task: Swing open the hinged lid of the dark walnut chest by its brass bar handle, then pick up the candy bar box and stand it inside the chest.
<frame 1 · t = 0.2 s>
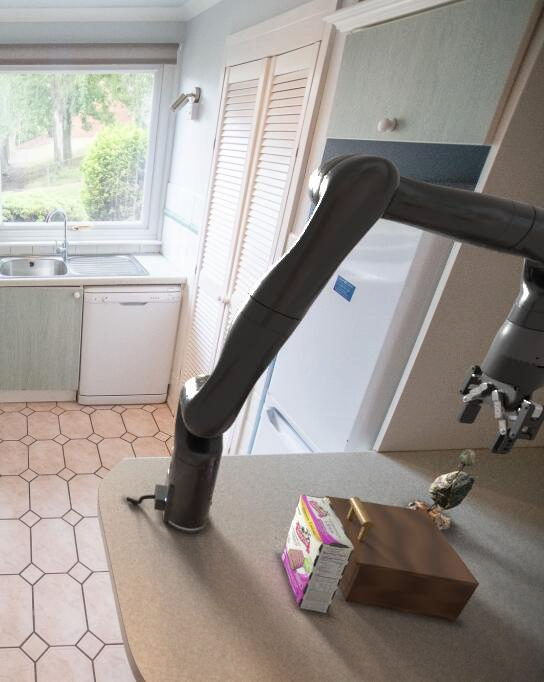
hand: (479, 436, 77), 29 cm above the countertop, tool pointing down, fingers open, 8 cm apart
plant with pod: (429, 517, 98), on the countertop
chest: (378, 572, 86), on the countertop
lid: (397, 526, 81), point 12 cm above the countertop, hinge at 0.0°
candy bar box: (301, 584, 83), on the countertop
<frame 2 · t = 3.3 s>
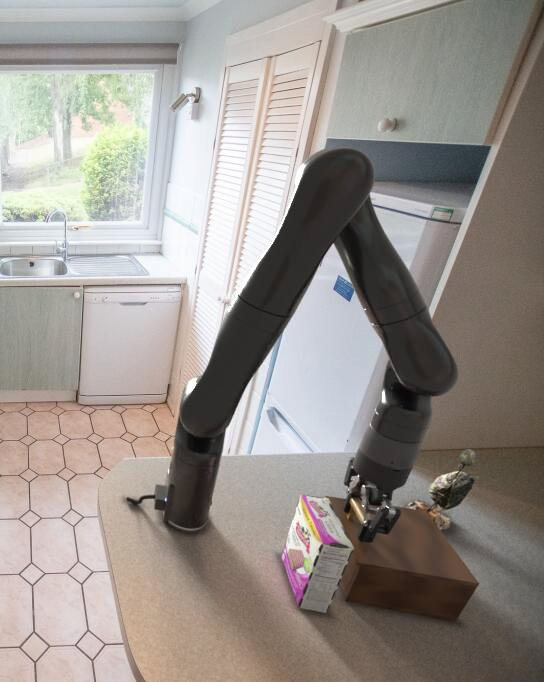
hand: (356, 525, 82), 11 cm above the countertop, tool pointing down, fingers closed on lid, 6 cm apart
lid: (397, 526, 81), point 12 cm above the countertop, hinge at 0.0°, touching gripper
everything else where it was.
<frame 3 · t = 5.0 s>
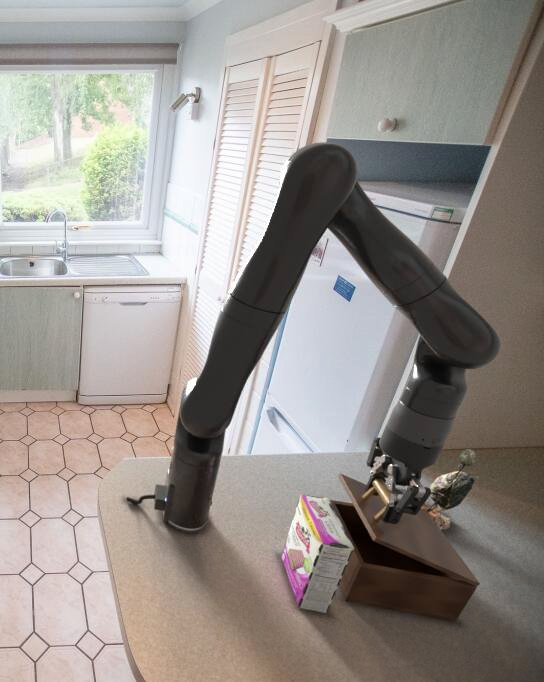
hand: (379, 507, 80), 16 cm above the countertop, tool pointing down, fingers closed on lid, 6 cm apart
lid: (412, 516, 79), point 15 cm above the countertop, hinge at 19.9°, touching gripper
everything else where it was.
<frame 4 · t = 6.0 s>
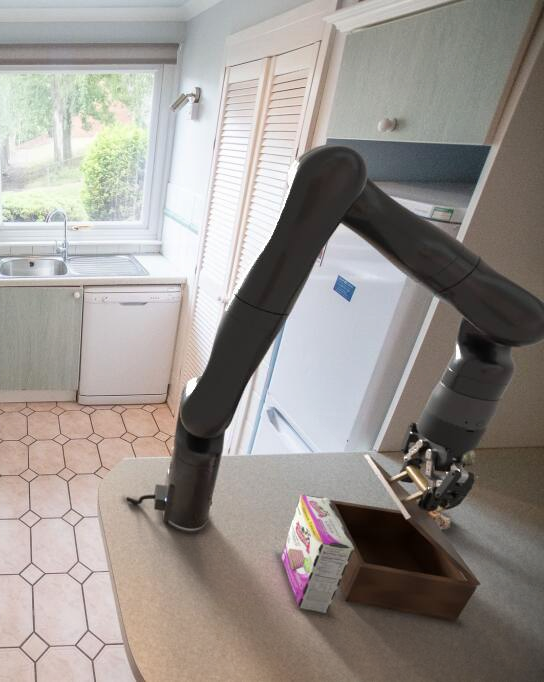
hand: (415, 494, 77), 19 cm above the countertop, tool pointing down, fingers closed on lid, 6 cm apart
lid: (432, 508, 78), point 17 cm above the countertop, hinge at 40.5°, touching gripper
everything else where it was.
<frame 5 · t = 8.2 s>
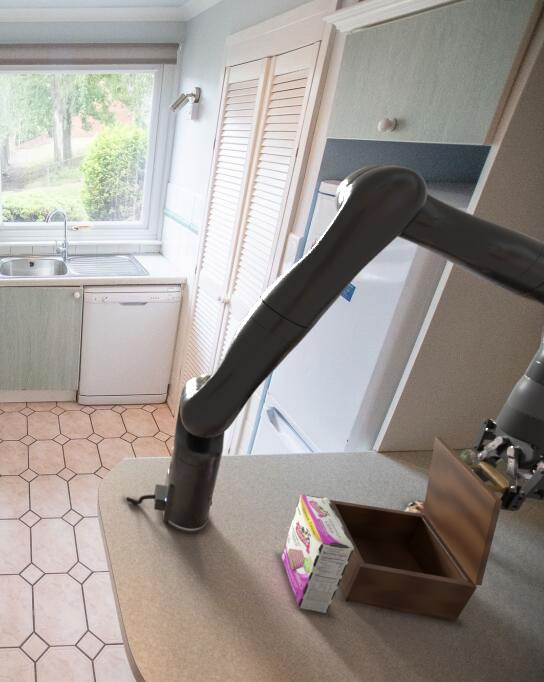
hand: (491, 493, 74), 22 cm above the countertop, tool pointing down, fingers closed on lid, 6 cm apart
lid: (474, 507, 76), point 18 cm above the countertop, hinge at 78.2°, touching gripper
everything else where it was.
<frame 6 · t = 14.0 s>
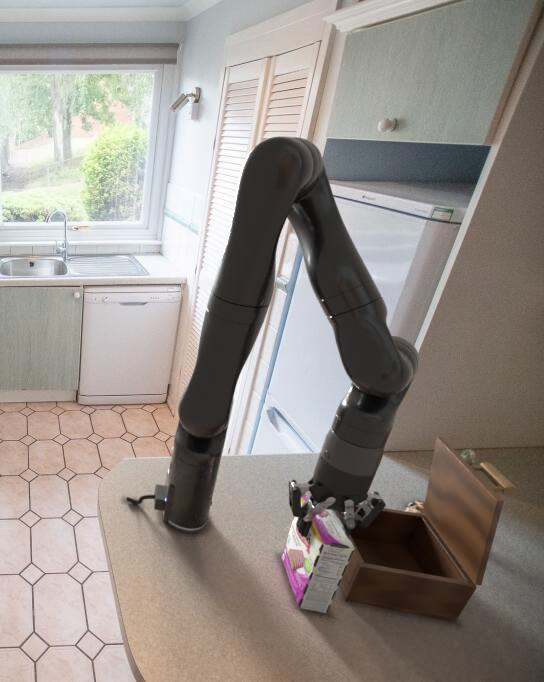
hand: (319, 535, 78), 12 cm above the countertop, tool pointing down, fingers closed on candy bar box, 5 cm apart
lid: (475, 507, 76), point 18 cm above the countertop, hinge at 78.9°
candy bar box: (301, 584, 83), on the countertop, touching gripper
everything else where it was.
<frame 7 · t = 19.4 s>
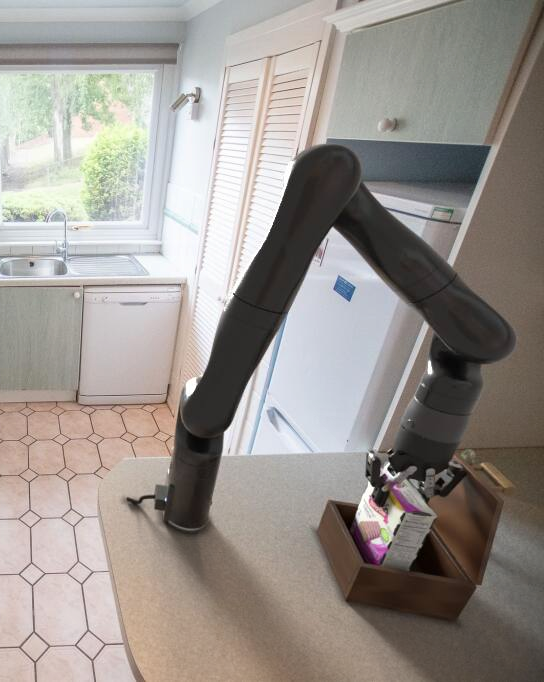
hand: (395, 506, 79), 16 cm above the countertop, tool pointing down, fingers closed on candy bar box, 5 cm apart
candy bar box: (372, 556, 84), point 4 cm above the countertop, touching gripper
everything else where it was.
when the fingers open (13 cm above the countertop, at t = 20.7 s): candy bar box stays where it is, resting on chest.
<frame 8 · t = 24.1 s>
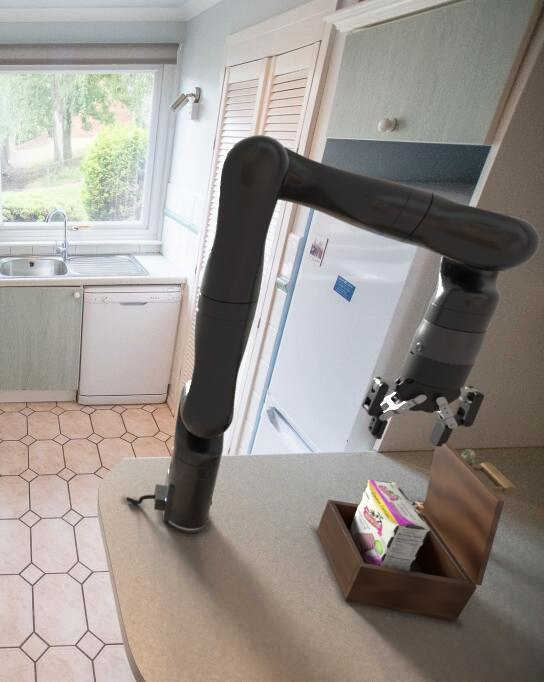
hand: (404, 439, 74), 30 cm above the countertop, tool pointing down, fingers open, 8 cm apart
candy bar box: (367, 567, 86), point 1 cm above the countertop, touching chest
everything else where it was.
at the end: lid at +79° (first picture: +0°); candy bar box inside the target area in the chest (2.0 cm from its centre), point 0.7 cm above the chest's base; candy bar box tilted 0° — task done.
